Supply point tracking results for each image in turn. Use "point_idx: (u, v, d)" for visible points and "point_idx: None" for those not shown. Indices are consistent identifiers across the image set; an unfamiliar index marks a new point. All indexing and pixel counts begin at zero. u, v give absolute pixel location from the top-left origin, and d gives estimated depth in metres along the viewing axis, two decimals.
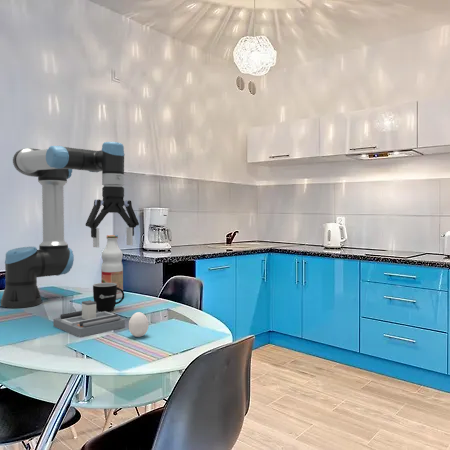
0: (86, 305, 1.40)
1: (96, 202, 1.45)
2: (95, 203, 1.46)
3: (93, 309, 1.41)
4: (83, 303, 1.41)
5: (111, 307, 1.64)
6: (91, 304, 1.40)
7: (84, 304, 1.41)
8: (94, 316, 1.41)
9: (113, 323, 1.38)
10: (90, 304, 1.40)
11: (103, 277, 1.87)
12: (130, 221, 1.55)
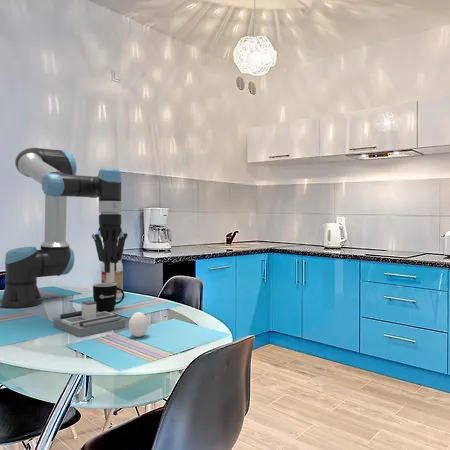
0: (86, 305, 1.40)
1: (95, 238, 1.42)
2: (94, 239, 1.43)
3: (93, 309, 1.41)
4: (83, 303, 1.41)
5: (111, 307, 1.64)
6: (91, 304, 1.40)
7: (84, 304, 1.41)
8: (94, 316, 1.41)
9: (113, 323, 1.38)
10: (90, 304, 1.40)
11: (103, 277, 1.87)
12: (115, 255, 1.47)
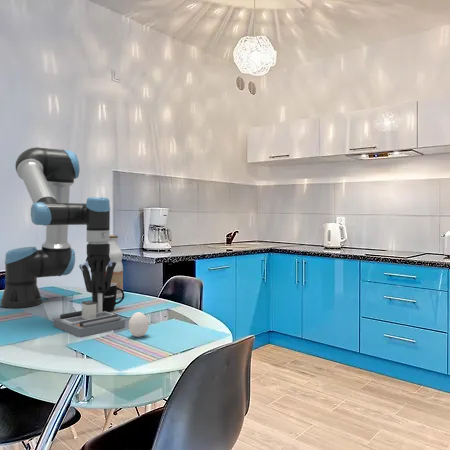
0: (86, 305, 1.40)
1: (82, 269, 1.39)
2: (82, 269, 1.40)
3: (93, 309, 1.41)
4: (83, 303, 1.41)
5: (111, 307, 1.64)
6: (91, 304, 1.40)
7: (83, 304, 1.41)
8: (94, 316, 1.41)
9: (113, 323, 1.38)
10: (90, 304, 1.40)
11: None
12: (103, 285, 1.44)
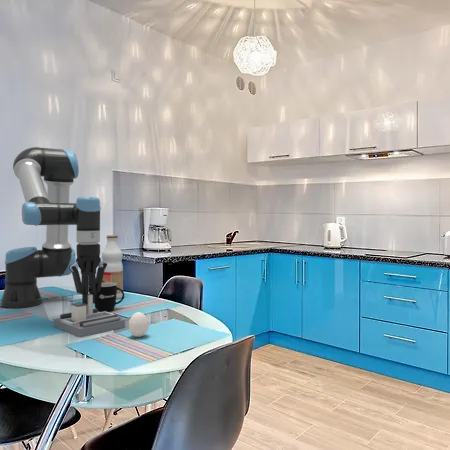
0: (76, 307, 1.37)
1: (72, 270, 1.37)
2: (71, 270, 1.37)
3: (83, 311, 1.38)
4: (73, 305, 1.39)
5: (111, 307, 1.64)
6: (81, 306, 1.38)
7: (73, 306, 1.38)
8: (84, 318, 1.38)
9: (113, 323, 1.38)
10: (80, 306, 1.37)
11: (103, 277, 1.87)
12: (93, 286, 1.42)
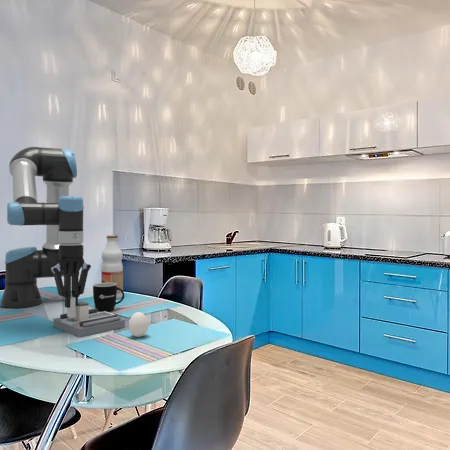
0: (78, 306, 1.38)
1: (53, 271, 1.32)
2: (53, 272, 1.33)
3: (85, 310, 1.39)
4: None
5: (111, 307, 1.64)
6: (83, 305, 1.38)
7: None
8: (86, 317, 1.39)
9: (113, 323, 1.38)
10: (82, 305, 1.38)
11: (103, 277, 1.87)
12: (76, 288, 1.37)
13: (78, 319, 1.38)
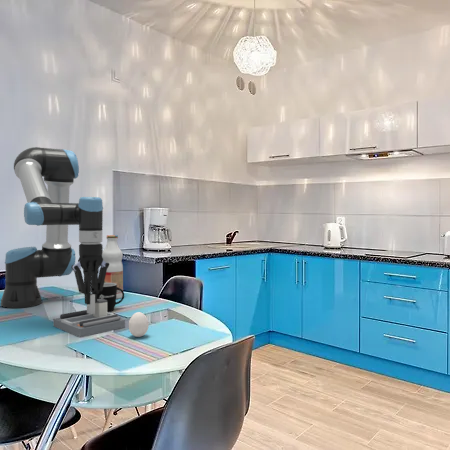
0: (97, 303, 1.43)
1: (74, 269, 1.37)
2: (74, 270, 1.38)
3: (104, 307, 1.44)
4: None
5: (111, 307, 1.64)
6: (102, 302, 1.43)
7: None
8: (105, 314, 1.44)
9: (113, 323, 1.38)
10: (101, 302, 1.43)
11: None
12: (96, 286, 1.42)
13: (97, 315, 1.43)
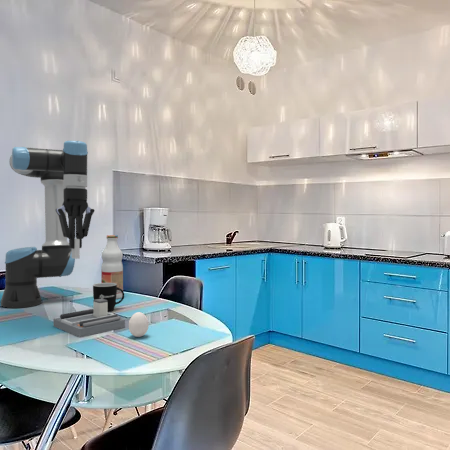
0: (98, 303, 1.43)
1: (58, 212, 1.38)
2: (58, 213, 1.38)
3: (104, 307, 1.44)
4: (95, 301, 1.44)
5: (111, 307, 1.64)
6: (103, 302, 1.43)
7: (95, 302, 1.44)
8: (105, 314, 1.44)
9: (113, 323, 1.38)
10: (102, 302, 1.43)
11: (103, 277, 1.87)
12: (80, 230, 1.43)
13: (97, 315, 1.43)
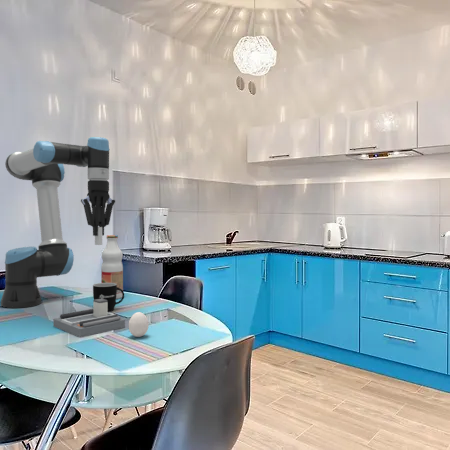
0: (98, 303, 1.43)
1: (84, 202, 1.51)
2: (83, 203, 1.51)
3: (104, 307, 1.44)
4: (95, 301, 1.44)
5: (111, 307, 1.64)
6: (103, 302, 1.43)
7: (95, 302, 1.44)
8: (105, 314, 1.44)
9: (113, 323, 1.38)
10: (102, 302, 1.43)
11: (103, 277, 1.87)
12: (103, 219, 1.56)
13: (97, 315, 1.43)
